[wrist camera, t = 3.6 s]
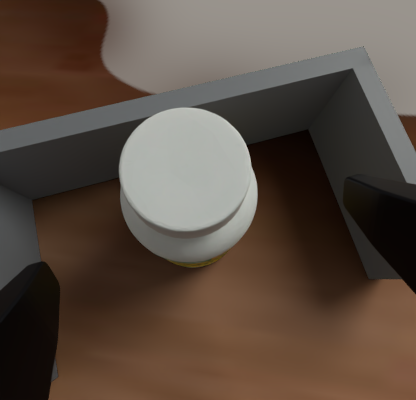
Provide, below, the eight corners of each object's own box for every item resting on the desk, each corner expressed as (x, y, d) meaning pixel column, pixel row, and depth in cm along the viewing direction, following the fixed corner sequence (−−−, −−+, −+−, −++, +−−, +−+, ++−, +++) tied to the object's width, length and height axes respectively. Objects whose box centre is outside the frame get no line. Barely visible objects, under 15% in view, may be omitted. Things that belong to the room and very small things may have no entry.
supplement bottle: (222, 171, 19) (245, 69, 10) (249, 253, 18) (304, 225, 9) (139, 193, 19) (79, 108, 9) (160, 280, 17) (116, 281, 8)
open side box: (384, 274, 18) (474, 271, 12) (38, 382, 16) (-54, 443, 10) (316, 112, 20) (363, 46, 15) (12, 189, 18) (-73, 147, 13)
